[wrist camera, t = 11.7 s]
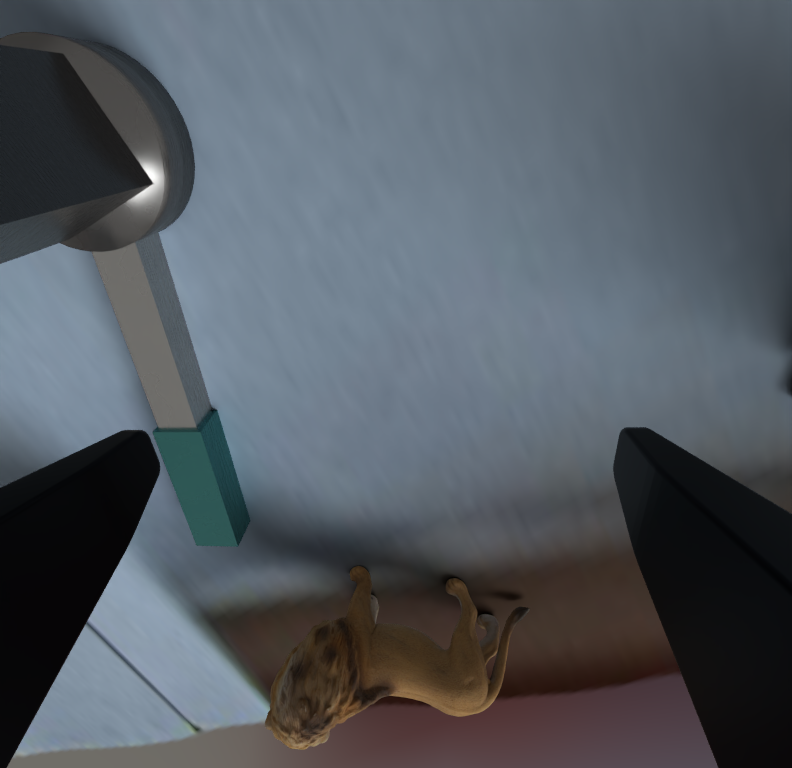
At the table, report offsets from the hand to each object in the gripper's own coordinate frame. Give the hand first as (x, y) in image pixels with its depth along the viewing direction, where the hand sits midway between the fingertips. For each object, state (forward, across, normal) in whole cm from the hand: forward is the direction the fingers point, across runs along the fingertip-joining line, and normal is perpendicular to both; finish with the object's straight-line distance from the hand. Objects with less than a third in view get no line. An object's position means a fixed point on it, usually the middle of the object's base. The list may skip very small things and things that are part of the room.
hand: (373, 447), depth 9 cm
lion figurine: (+13, +2, +22) cm, 26 cm away
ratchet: (+13, +12, +3) cm, 18 cm away
